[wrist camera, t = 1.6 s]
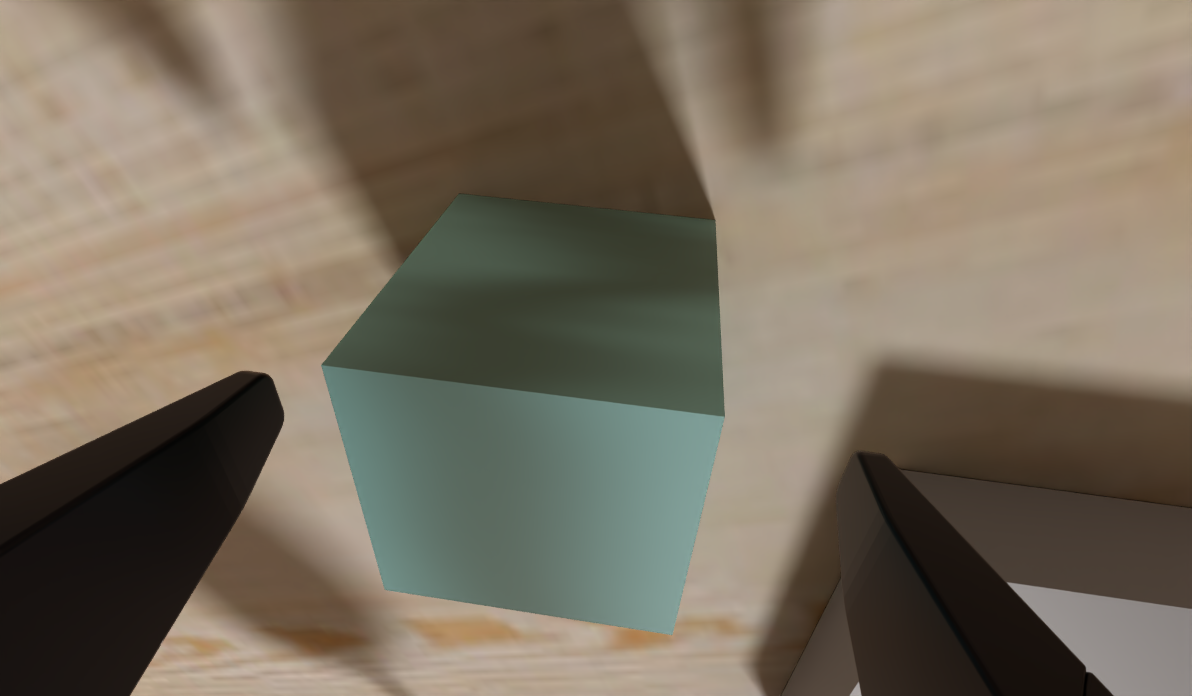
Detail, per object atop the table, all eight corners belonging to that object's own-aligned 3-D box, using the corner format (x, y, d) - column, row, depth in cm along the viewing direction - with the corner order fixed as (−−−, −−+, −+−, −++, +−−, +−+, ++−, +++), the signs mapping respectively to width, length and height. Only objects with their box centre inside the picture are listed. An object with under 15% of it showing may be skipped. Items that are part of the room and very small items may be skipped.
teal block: (715, 218, 10) (724, 416, 7) (680, 411, 13) (672, 635, 9) (460, 192, 11) (320, 365, 7) (477, 385, 14) (385, 589, 10)
